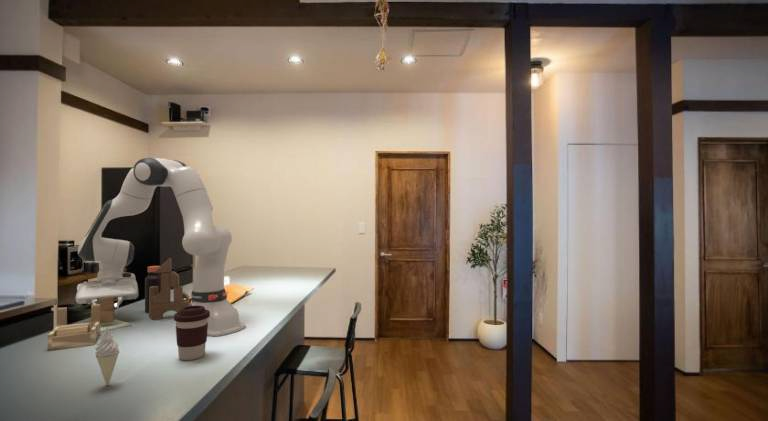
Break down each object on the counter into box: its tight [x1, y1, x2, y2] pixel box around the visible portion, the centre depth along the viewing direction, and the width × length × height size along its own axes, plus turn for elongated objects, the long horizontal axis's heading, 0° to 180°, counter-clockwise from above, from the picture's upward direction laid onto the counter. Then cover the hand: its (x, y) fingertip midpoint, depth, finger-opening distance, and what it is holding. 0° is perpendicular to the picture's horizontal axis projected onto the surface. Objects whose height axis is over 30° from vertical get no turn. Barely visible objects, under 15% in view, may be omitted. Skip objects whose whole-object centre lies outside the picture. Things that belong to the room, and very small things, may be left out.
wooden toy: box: [148, 257, 191, 320], centre depth 163 cm, size 16×7×25 cm, turn 111°
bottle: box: [144, 265, 161, 314], centre depth 171 cm, size 7×7×20 cm
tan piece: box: [47, 303, 101, 352], centre depth 131 cm, size 12×12×11 cm
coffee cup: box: [173, 305, 210, 361], centre depth 118 cm, size 10×10×15 cm
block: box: [98, 297, 116, 324], centre depth 148 cm, size 4×4×9 cm
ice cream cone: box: [94, 327, 120, 386], centre depth 99 cm, size 5×5×15 cm
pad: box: [90, 318, 132, 333], centre depth 148 cm, size 12×12×1 cm
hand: (106, 309), depth 148 cm, fingers closed on block, 4 cm apart
